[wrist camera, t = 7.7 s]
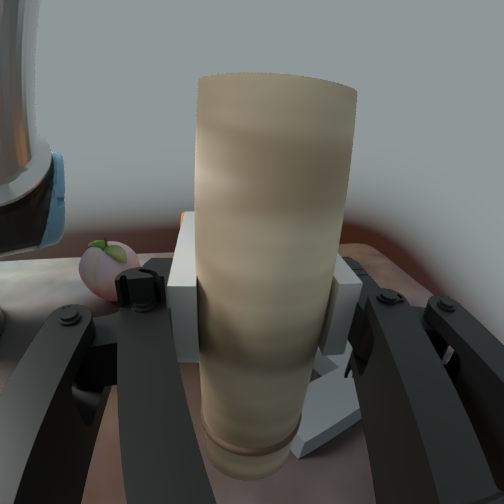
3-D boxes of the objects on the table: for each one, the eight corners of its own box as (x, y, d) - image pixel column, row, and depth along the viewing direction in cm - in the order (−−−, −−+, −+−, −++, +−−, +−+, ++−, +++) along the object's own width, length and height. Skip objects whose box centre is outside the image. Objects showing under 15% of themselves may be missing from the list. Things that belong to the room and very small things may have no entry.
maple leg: (190, 432, 14) (172, 84, 8) (260, 404, 16) (290, 94, 10) (231, 496, 11) (251, 64, 5) (307, 457, 13) (394, 99, 7)
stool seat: (298, 459, 23) (304, 442, 22) (213, 356, 35) (212, 336, 34) (436, 356, 35) (444, 338, 34) (354, 302, 47) (358, 286, 46)
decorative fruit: (155, 295, 46) (150, 232, 42) (121, 323, 39) (110, 254, 35) (111, 280, 49) (104, 222, 45) (77, 303, 42) (64, 240, 38)
